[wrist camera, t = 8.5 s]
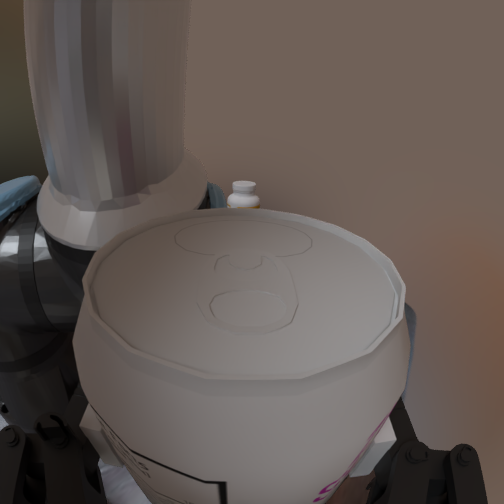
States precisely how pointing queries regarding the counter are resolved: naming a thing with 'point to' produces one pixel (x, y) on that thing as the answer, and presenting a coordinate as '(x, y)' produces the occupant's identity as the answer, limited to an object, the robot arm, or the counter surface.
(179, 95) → the robot arm
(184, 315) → the supplement can
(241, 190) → the supplement bottle
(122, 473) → the counter surface
